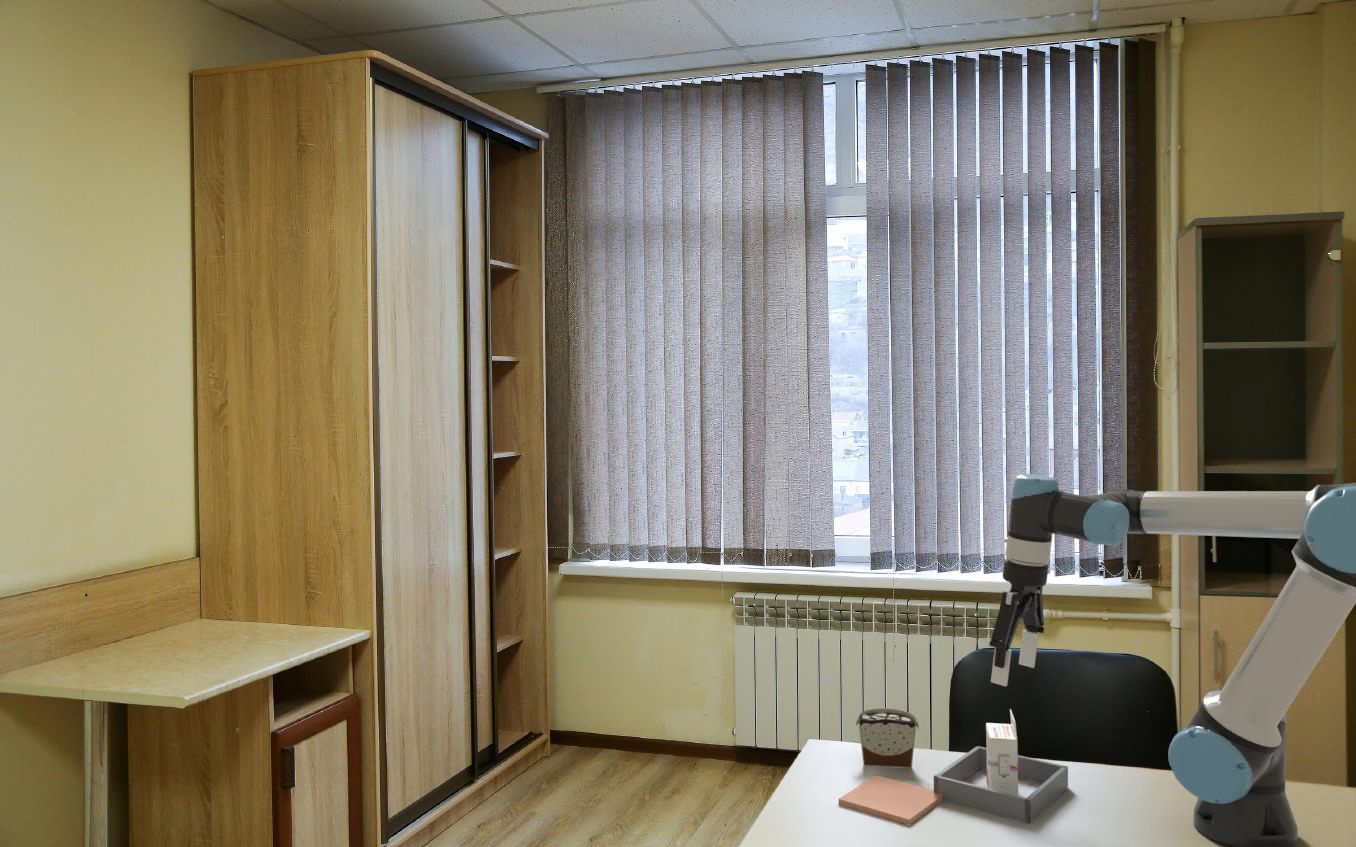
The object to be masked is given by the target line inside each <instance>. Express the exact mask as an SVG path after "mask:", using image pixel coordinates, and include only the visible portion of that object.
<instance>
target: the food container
mask: <svg viewBox="0 0 1356 847" xmlns="http://www.w3.org/2000/svg"><path fill="white" fill-rule="evenodd" d="M857 716H858V717H857V718H856V724H855V727H857V726H858V728H859V729H858V730H859V737H860V744H861V745H860V746H861V747H860V748H861V755H862V763H863V767H872V768H873V767H876V768H893V769H895V768H896V769H897V768H898V769H912V768H913V760H914V759H913V757H914V750H915V749H914V748H915V739H916V730H920V727H919V721H918V719H917V717H916V715H914V714H913V713H911V712H908V711H905V710H901V709H895V708H884V707H883V708H881V707H880V708H871V709H865V710H864V711H862V712H860V713H859V714H858V715H857Z"/></svg>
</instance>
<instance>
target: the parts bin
mask: <svg viewBox="0 0 1356 847" xmlns="http://www.w3.org/2000/svg"><path fill="white" fill-rule="evenodd" d="M986 751H987V747H984V746H980V745H977V746H975V747H973V748H972V749H971V750H969V751H968V752H966V753H965V754H963V755H962V756H961V757H960V758H958V759H956V760H955V761H953V762H952V763H950V764H949V765H948V766H946V767H945V768H943V769H941V771H939V772H938V773H935V775H933V790H934V793H938V794H942V795H943V802H944V801H945V802H949V803H952V804H955V805H959V806H963V807H966V808H971V809H975V810H977V811H981V812H984V813H988V814H993V815H996V816H999V817H1003V818H1007V819H1011V820H1013V821H1014V820H1015V821H1019V822H1022V823H1025V824H1031V823H1032V822H1033V821H1034V820H1035V819H1036V818H1037V817H1038V816H1039V815H1041V813H1042V812H1043V811H1045V810H1046V809H1047V808H1048V807H1049V806H1050V805H1051V804H1052V803H1054V801H1055V800H1057V799H1058V798H1059V797H1060V796H1061V795H1062V794H1063V793H1064V792H1065V791H1066V790H1067V789H1068V788H1069V767H1068V766H1067V765H1063V764H1059V763H1054V762H1049V761H1046V760H1042V759H1041V760H1040V759H1037V758H1033V757H1028V756H1023V755H1019V754H1018V779H1019V778H1020V779H1023V780H1028V781H1031V782H1036V783H1041V785H1039V786H1038V787H1037V788H1036V789H1035V790H1034V791H1033V792H1031V793H1030V794H1029V795H1028V796H1027V797H1024V796H1020V795H1018V796H1017V795H1013V794H1009V793H1005V792H1001V791H997V790H993V789H989V788H988V787H985V786H982V785H977V784H974V783H973V784H972V783H969V782H965V781H964V780H966V779H967V778H968V777H970V776H971V775H972V774H974V773H975V772H976V771H978V770H979V769H982V770H986V771H987V752H986Z"/></svg>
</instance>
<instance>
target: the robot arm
mask: <svg viewBox="0 0 1356 847" xmlns="http://www.w3.org/2000/svg"><path fill="white" fill-rule="evenodd" d="M1059 488H1060V487H1059V481H1058V479H1056V478H1055V477H1051V476H1047V475H1043V474H1032V473H1023V474H1022V473H1021V474H1019V475H1017V476H1016V477H1015V479H1014V481H1013V486H1012V493H1011V496H1010V501H1011V502H1010V509H1009V510H1010V511H1009V518H1008V520H1009V521H1008V529H1007V536H1006V537H1005V538H1004V541H1003V542H1004V543H1006V546H1005V556H1006V558H1005V559H1004V561H1003V570H1002V578H1003V580H1005V581H1006V582H1008V583H1009V584H1011V587H1010V590H1009V591H1002V595H1001V602H1000V608H999V609H998V614H997V617H996V620H995V624H994V627H993V628H994V629H993V631H992V635H991V639H990V641H989V647H993V648H994V651H993V659H992V668H991V678H990V683H993V684H996V685H999V686H1002V687H1007V686H1008V682H1009V674H1010V666H1011V659H1012V658H1011V657H1012V649H1010V647H1011V646H1012V643H1013V640H1014V636H1015V633H1017V632H1016V631H1017V629H1018V626H1019V623H1020V620H1022V621H1023V625H1024V628H1025V629H1022V635H1021V640H1020V649H1019V659H1018V665H1021V666H1025V667H1027V668H1028V667H1029V668H1031V669H1034V668H1035V667H1036V666H1035V665H1036V659H1037V658H1036V657H1037V647H1038V641H1039V634H1044V633H1045V627H1044V625H1045V620H1044V618H1045V617H1044V616H1045V615H1044V602H1043V601H1044V599H1043V587H1044V586H1046V584H1047V581H1048V572H1049V566H1048V563H1049V562H1050V560H1051V558H1050V557H1051V551H1052V542H1053V541H1052V540H1053V535H1058V536H1063V537H1067V538H1072V539H1075V540H1079V541H1085V542H1088V543H1091V544H1092V543H1093V544H1095V545H1097V546H1099V545H1103V546H1110V547H1117V546H1119V545H1121V544H1122V542H1123V540H1125V539H1126V536H1127V534H1132V535H1133V534H1136V535H1137V534H1138V535H1139V534H1140V535H1145V534H1146V535H1148V534H1150V535H1151V534H1153V535H1155V534H1156V535H1179V536H1182V535H1183V536H1184V535H1185V536H1209V537H1210V536H1211V537H1235V538H1236V537H1240V538H1241V537H1242V538H1243V537H1244V538H1270V539H1271V538H1273V539H1293V540H1294V539H1296V540H1297V539H1298V540H1297V541H1296V543H1295V545H1294V547H1293V548H1292V550H1291V554H1292V556H1293V559H1294V561H1295V564H1296V565H1295V568H1294V570H1293V571H1292V573H1291V575H1290V576H1289V578H1288V579H1287V582H1286V583H1285V584H1284V586H1283V588H1282V589H1281V591H1280V593H1279V594H1278V596H1277V598H1276V599H1275V601H1274V603H1273V604H1272V606H1271V607H1270V610H1269V611H1268V612H1267V614H1266V616H1265V618H1264V619H1263V621H1262V622H1261V624H1260V626H1259V628H1258V629H1257V631H1256V633H1254V635H1253V637H1252V639H1251V640H1250V643H1248V646H1247V647H1246V649H1245V651H1244V652H1243V654H1242V656H1241V657H1240V659H1239V660H1238V662H1237V664H1236V665H1235V667H1234V669H1233V670H1232V672H1231V673H1230V675H1229V676H1228V677H1229V678H1227V680H1226V682H1225V684H1224V685H1223V687H1222V689H1220V690H1213V691H1209V692H1207V693H1206V694H1205V696H1204V697H1203V698H1202V700H1201V702H1200V703H1199V705H1198V706H1197V708H1196V710H1195V711H1194V714H1192V716H1191V718H1190V720H1189V721H1188V722H1187V725H1186V726H1185V727H1184V728H1183V729H1181V730H1180V731H1178V733H1175V735H1174V737H1173V738H1172V741H1171V742H1170V744H1169V747H1168V755H1167V756H1168V763H1169V767H1171V768H1170V769H1171V772H1172V774H1173V775H1174V777H1175V779H1176V780H1177V781H1178V783H1179V784H1180V785H1181V787H1182V788H1184V789H1185V790H1186V791H1187V792H1188V793H1190V794H1191V795H1192V796H1194V797H1196V798H1197V800H1196V803H1195V805H1194V807H1193V826H1194V827H1195V829H1196V830H1197V831H1198V832H1200V833H1201V834H1202V835H1203V836H1205V837H1207V838H1208V839H1210V840H1213V841H1214V842H1217V843H1220V844H1223V845H1225V846H1229V847H1296V846H1297V845H1298V841H1299V839H1298V838H1299V832H1298V831H1299V829H1298V825H1297V822H1296V820H1295V817H1294V814H1293V811H1292V809H1291V805H1290V803H1289V800H1288V797H1287V793H1286V764H1287V763H1286V762H1287V760H1286V755H1287V753H1286V752H1287V751H1286V746H1287V744H1286V742H1287V740H1286V738H1287V724H1288V721H1287V716H1286V714H1287V711H1288V710H1289V708H1290V707H1291V705H1292V704H1293V702H1294V701H1295V699H1296V697H1297V696H1298V694H1299V693H1300V691H1301V690H1302V688H1303V686H1304V685H1305V683H1306V682H1307V680H1308V679H1309V677H1310V676H1311V674H1312V672H1313V671H1314V670H1315V668H1316V666H1317V664H1318V663H1319V661H1321V658H1322V657H1323V655H1324V654H1325V652H1326V651H1327V649H1328V647H1329V646H1330V644H1331V642H1332V641H1333V639H1334V638H1335V636H1336V635H1337V633H1338V631H1340V629H1341V627H1342V625H1343V624H1344V622H1345V621H1346V619H1347V618H1348V616H1349V614H1350V612H1351V611H1352V609H1353V608H1354V606H1356V482H1349V483H1341V484H1339V483H1338V484H1317V485H1316V486H1315V487H1313V489H1312V490H1309V491H1308V490H1306V491H1304V490H1299V491H1298V490H1297V491H1296V490H1295V491H1294V490H1289V491H1288V490H1286V491H1285V490H1282V491H1279V490H1278V491H1276V490H1275V491H1273V490H1270V491H1269V490H1268V491H1267V490H1266V491H1265V490H1261V491H1260V490H1256V491H1255V490H1253V491H1248V490H1247V491H1246V490H1241V491H1240V490H1236V491H1235V490H1234V491H1233V490H1227V491H1226V490H1224V491H1223V490H1221V491H1220V490H1219V491H1217V490H1216V491H1214V490H1213V491H1212V490H1210V491H1209V490H1208V491H1207V490H1205V491H1203V490H1199V491H1197V490H1195V491H1194V490H1191V491H1190V490H1184V491H1182V490H1177V491H1174V490H1173V491H1172V490H1168V491H1167V490H1166V491H1165V490H1151V491H1150V490H1148V491H1143V490H1142V491H1141V490H1140V491H1139V490H1132V489H1115V490H1113V491H1109V492H1105V493H1099V494H1095V495H1094V494H1093V495H1089V496H1086V495H1081V494H1074V493H1068V492H1065V491H1063V490H1060V489H1059Z"/></svg>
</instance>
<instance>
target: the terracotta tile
mask: <svg viewBox="0 0 1356 847" xmlns="http://www.w3.org/2000/svg"><path fill="white" fill-rule="evenodd" d="M942 801H943V802H944V800H943V795H942V794H938V793H934V789H930V788H926V787H922V786H919V785H914V784H911V783H907V782H903V781H900V780H896V779H893V778H888V777H884V776H880V775H876V774H875V775H873V777H871V778H869V779H867V780H866V781H864V782H862V784H860V785H858V786H857V787H855V788H854V789H852V790H850V791H849V792H846V793H845V794H844V795H842V796H840V797H839V798H838V805H839V806H842V807H846V808H849V809H853V810H856V811H860V812H863V813H867V814H870V815H874V816H877V817H880V818H884V819H886V820H889V821H890V820H891V821H895V822H897V823H901V824H904V825H907V826H910V825H912V824H913V823H915V822H916V821H917V820H919V819H920V818H921V817H923V816H924V815H925V814H927V813H928V812H929V811H930V810H932V809H933V808H935V807H936V806H937V805H939V804H940V803H941V802H942Z"/></svg>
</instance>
